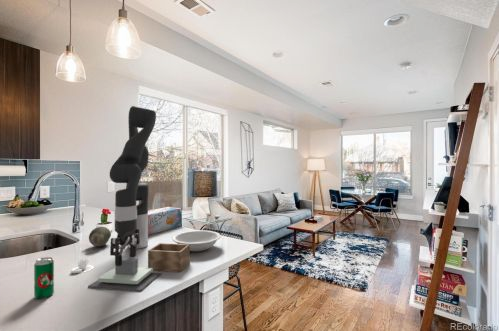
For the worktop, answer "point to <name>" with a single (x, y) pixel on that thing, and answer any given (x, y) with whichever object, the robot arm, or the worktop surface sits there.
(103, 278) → the lid
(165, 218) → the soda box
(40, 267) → the soda can
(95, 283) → the rubber mat
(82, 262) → the teacup and saucer
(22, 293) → the worktop surface
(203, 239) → the white sink basin
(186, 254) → the walnut box
